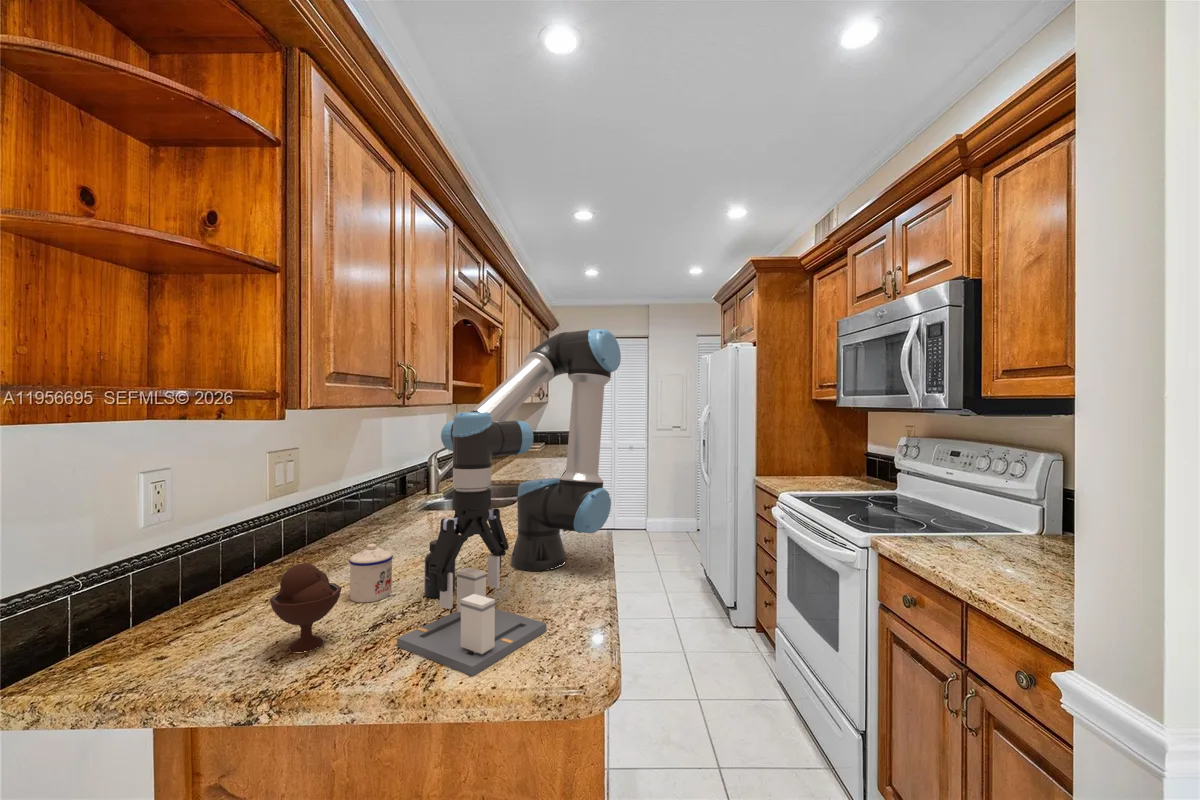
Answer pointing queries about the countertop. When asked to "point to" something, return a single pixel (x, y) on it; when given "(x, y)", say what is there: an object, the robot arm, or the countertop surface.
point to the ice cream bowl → (304, 602)
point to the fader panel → (445, 648)
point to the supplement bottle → (433, 575)
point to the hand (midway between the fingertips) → (471, 596)
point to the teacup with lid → (370, 574)
